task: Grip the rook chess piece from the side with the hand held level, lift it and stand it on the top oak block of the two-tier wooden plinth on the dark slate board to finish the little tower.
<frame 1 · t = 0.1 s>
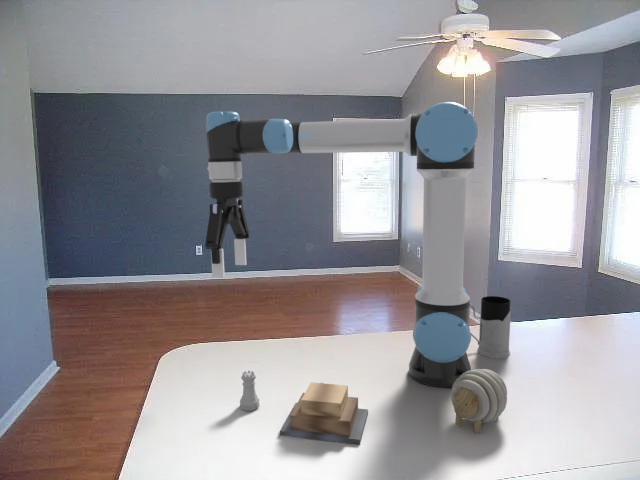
hand: (230, 270, 121), 28 cm above the kitchen counter, tool pointing down, fingers open, 13 cm apart
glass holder: (483, 351, 143), on the kitchen counter
rook chess piece: (249, 407, 113), on the kitchen counter
toy sheep: (479, 423, 105), on the kitchen counter
plinth: (325, 424, 105), on the kitchen counter
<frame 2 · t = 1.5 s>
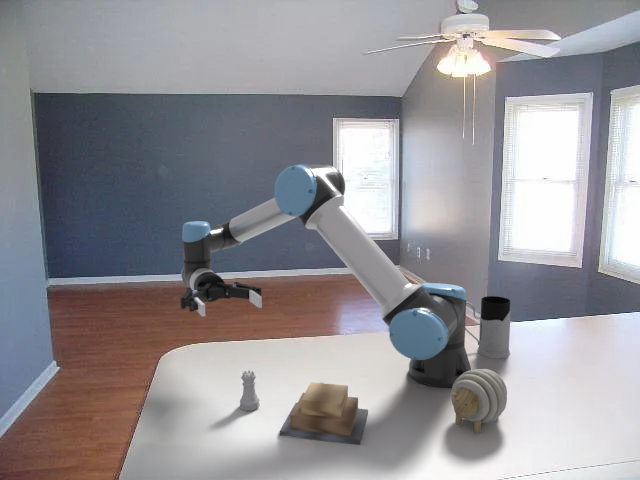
hand: (232, 306, 118), 21 cm above the kitchen counter, tool horizontal, fingers open, 13 cm apart
nothing on the kitchen counter moved.
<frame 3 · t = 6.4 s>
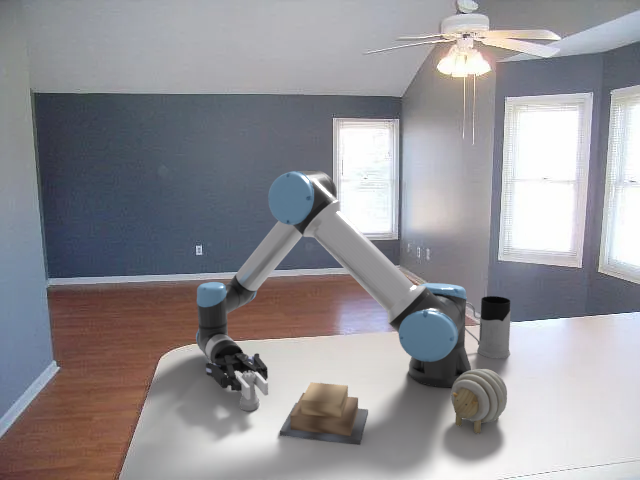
hand: (257, 391, 107), 6 cm above the kitchen counter, tool horizontal, fingers closed on rook chess piece, 3 cm apart
rook chess piece: (249, 407, 113), on the kitchen counter, touching gripper
everything else where it was.
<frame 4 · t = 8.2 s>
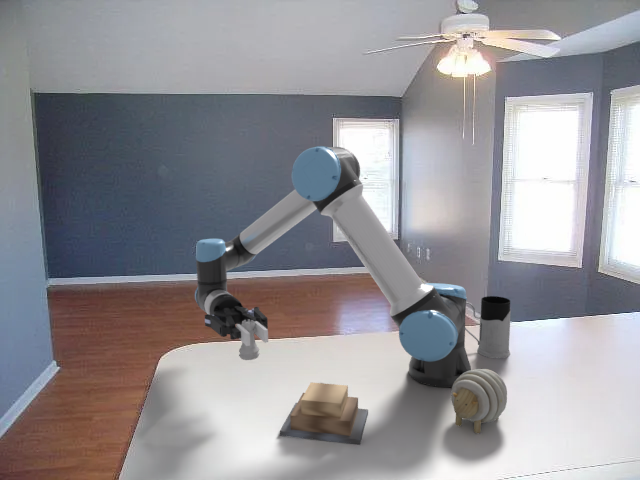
hand: (257, 337, 105), 18 cm above the kitchen counter, tool horizontal, fingers closed on rook chess piece, 3 cm apart
rook chess piece: (249, 357, 111), point 12 cm above the kitchen counter, touching gripper
everything else where it was.
when the fingers open (14 cm above the kitchen counter, at t = 10.1 s): rook chess piece drops 1 cm, resting on plinth.
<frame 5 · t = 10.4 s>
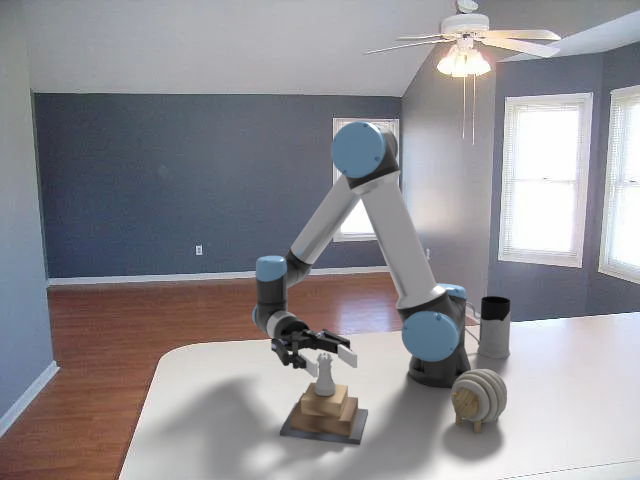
hand: (336, 365, 99), 14 cm above the kitchen counter, tool horizontal, fingers open, 8 cm apart
rook chess piece: (325, 393, 104), point 7 cm above the kitchen counter, touching plinth
everything else where it was.
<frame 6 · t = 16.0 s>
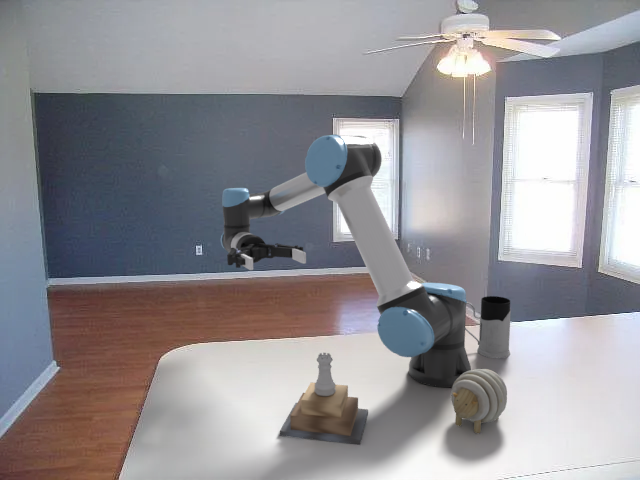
hand: (278, 261, 121), 30 cm above the kitchen counter, tool horizontal, fingers open, 13 cm apart
nothing on the kitchen counter moved.
at the end: rook chess piece 0.1 cm off-centre on the plinth, point 6.8 cm above the plinth's base; rook chess piece tilted 0°; the gripper is holding nothing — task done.
